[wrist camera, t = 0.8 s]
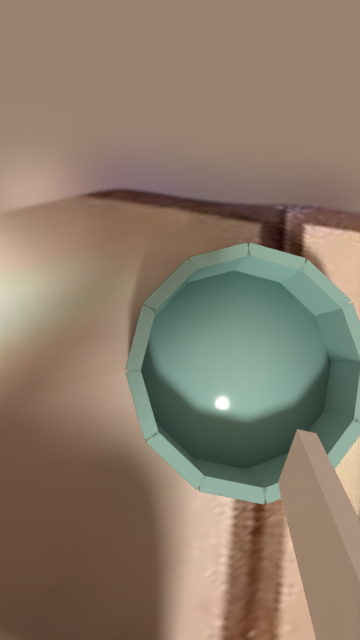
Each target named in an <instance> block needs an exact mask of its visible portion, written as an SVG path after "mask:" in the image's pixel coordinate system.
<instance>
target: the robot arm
mask: <svg viewBox="0 0 360 640" xmlns="http://www.w3.org/2000/svg"><path fill="white" fill-rule="evenodd" d="M278 486H279V490H280V494H281V498H282V502H283V506H284V510H285V514H286V518H287V522H288V526H289V531H290V535H291V539H292V543H293V547H294V551H295V555H296V559H297V563H298V567H299V571H300V575H301V579H302V583H303V588H304V592H305V596H306V600H307V604H308V608H309V612H310V616H311V620H312V624H313V628H314V632H315V636H316V640H360V520H359V518H358V516H357V514H356V512H355V510H354V508H353V506H352V504H351V502H350V500H349V498H348V496H347V494H346V492H345V490H344V488H343V486H342V484H341V482H340V480H339V478H338V476H337V474H336V472H335V470H334V468H333V466H332V464H331V462H330V460H329V458H328V456H327V454H326V452H325V450H324V448H323V446H322V444H321V442H320V440H319V438H318V436H317V434H316V433H313V432H308V431H304V430H299V429H297V431H296V434H295V436H294V439H293V442H292V445H291V448H290V450H289V453H288V456H287V459H286V462H285V465H284V467H283V470H282V473H281V476H280V479H279V481H278Z"/></svg>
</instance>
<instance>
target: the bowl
mask: <svg viewBox="0 0 360 640" xmlns="http://www.w3.org/2000/svg"><path fill="white" fill-rule="evenodd" d="M305 259H306V258H303V257H300V256H296V255H292V254H289V253H285V252H282V251H278V250H275V249H271V248H267V247H264V246H260V245H257V244H253V243H249V244H248V245H247V243H243V244H239V245H235V246H231V247H227V248H223V249H219V250H215V251H211V252H207V253H203V254H199V255H195V256H192V257H190V258H189V260H188V259H186V260H185V261H184V262H183V263H182V264H181V265H180V266H179V267H178V268H177V269H176V270H175V271H174V272H173V273H172V274H171V275H170V276H169V277H168V278H167V279H166V280H165V281H164V282H163V283H162V284H161V285H160V286H159V287H158V288H157V289H156V290H155V291H154V292H153V293H152V294H151V295H150V296H149V297H148V298H147V299H146V300H145V301H144V303H143V305H142V307H141V311H140V315H139V319H138V322H137V326H136V330H135V334H134V338H133V342H132V346H131V350H130V354H129V358H128V362H127V365H126V369H127V370H130V371H127V372H126V376H127V380H128V383H129V387H130V390H131V394H132V397H133V401H134V404H135V408H136V412H137V415H138V419H139V422H140V426H141V429H142V433H143V436H144V439H146V443H147V444H148V445H149V446H150V447H151V448H153V449H154V450H155V451H156V452H157V453H158V454H159V455H160V456H161V457H162V458H163V459H164V460H165V461H166V462H167V463H168V464H169V465H170V466H171V467H172V468H174V469H175V470H176V471H177V472H178V473H179V474H180V475H181V476H182V477H183V478H184V479H185V480H186V481H187V482H188V483H189V484H190V485H191V486H192V487H194V488H195V489H196V490H197V488H198V490H199V492H204V493H209V494H214V495H219V496H224V497H229V498H235V499H240V500H245V501H250V502H255V503H260V504H264V501H265V502H266V503H267V504H268V503H271V502H273V501H276V500H278V499H281V494H280V490H279V486H278V481H279V479H280V476H281V473H282V470H283V467H284V465H285V462H286V459H287V456H288V453H289V450H290V448H291V445H292V442H293V439H294V436H295V434H296V431H297V429H299V430H304V431H308V432H313V433H316V434H317V436H318V438H319V440H320V442H321V444H322V446H323V448H324V450H325V452H326V454H327V456H328V458H329V460H330V462H331V464H332V466H333V468H334V470H335V468H336V467H337V465H338V464H339V463H340V461H341V460H342V459H343V457H344V456H345V454H346V453H347V452H348V450H349V449H350V448H351V446H352V445H353V443H354V442H355V441H356V439H357V438H358V436H359V435H360V322H359V319H358V316H357V313H356V311H355V308H354V305H353V303H351V304H349V302H350V301H351V300H350V299H349V298H348V297H347V296H346V295H345V294H344V293H343V292H342V291H341V290H340V289H339V288H338V287H336V286H335V285H334V284H333V283H332V282H331V281H330V280H329V279H328V278H327V277H326V276H325V275H324V274H323V273H322V272H321V271H320V270H319V269H318V268H316V267H315V266H314V265H313V264H312V263H311V262H310V261H309V260H307V261H305Z"/></svg>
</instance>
